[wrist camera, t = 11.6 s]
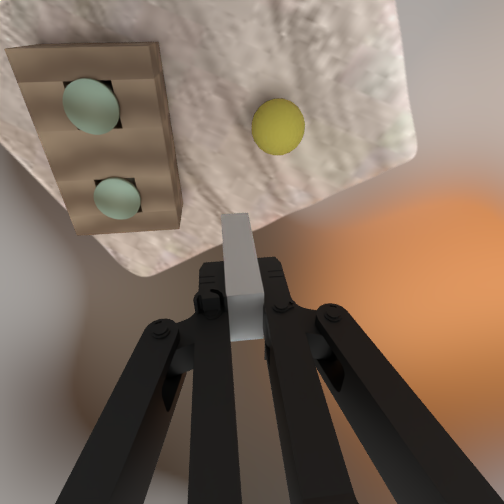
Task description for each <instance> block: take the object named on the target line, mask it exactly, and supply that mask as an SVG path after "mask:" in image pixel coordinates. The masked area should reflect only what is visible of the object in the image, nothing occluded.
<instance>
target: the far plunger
mask: <svg viewBox="0 0 504 504" xmlns="http://www.w3.org/2000/svg"><path fill="white" fill-rule="evenodd" d="M94 202H95V204H96V206H97V208H98V209H99V210H100V211H101V212H102V213H103V214H105V215H106V216H108V217H111V218H114V219H128V218H131V217H132V216H134V215H135V214H136V213H137V212H138V210H139V207H140V204H141V196H140V193H139V191H138V190H137V187H136V182H135V178H118V177H111V178H107V179H104V180H102V181H101V182H100V183H99V184H98V186H97V187H96V189H95V191H94Z"/></svg>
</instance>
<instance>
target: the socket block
mask: <svg viewBox="0 0 504 504" xmlns="http://www.w3.org/2000/svg"><path fill="white" fill-rule="evenodd" d="M5 52H6V54H7V57H8V60H9V62H10V65H11V67H12V70H13V72H14V75H15V77H16V80H17V83H18V85H19V88H20V90H21V93H22V95H23V98H24V100H25V103H26V106H27V108H28V111H29V113H30V116H31V118H32V121H33V124H34V126H35V129H36V131H37V134H38V136H39V139H40V141H41V144H42V147H43V149H44V152H45V154H46V157H47V159H48V162H49V164H50V167H51V170H52V172H53V175H54V177H55V180H56V182H57V185H58V187H59V190H60V193H61V195H62V198H63V200H64V203H65V205H66V208H67V211H68V213H69V215H70V218H71V221H72V223H73V226H74V228H75V231H76V234H77V235H78V236H80V235H96V234H111V233H126V232H141V231H157V230H172V229H179V228H180V221H181V214H182V207H183V200H182V193H181V187H180V180H179V174H178V167H177V160H176V154H175V147H174V141H173V134H172V128H171V121H170V114H169V108H168V101H167V95H166V88H165V82H164V75H163V69H162V62H161V55H160V49H159V42H124V43H73V44H36V45H29V46H21V47H14V48H7V49H5ZM81 78H91V79H95V80H111V82H112V86H113V90H114V94H115V96H116V98H117V100H118V103H119V107H120V117H119V120H118V123H117V124H116V126H115V127H114V128H113V129H112V130H111V131H109V132H108V133H105V134H101V135H94V134H89V133H86V132H84V131H82V130H80V129H79V128H77V127H76V126H75V125H74V124H73V123H72V122H71V121H70V120H69V118H68V117H67V115H66V113H65V110H64V107H63V93H64V91H65V88H66V87H67V86H68V85H69V84H70V83H71V82H73V81H75V80H78V79H81ZM111 177H118V178H135V182H136V187H137V190H138V191H139V193H140V196H141V204H140V207H139V210H138V212H137V213H136V214H135V215H134V216H132V217H131V218H128V219H114V218H111V217H108V216H106V215H105V214H103V213H102V212H101V211H100V210H99V209H98V208H97V206H96V204H95V202H94V191H95V189H96V187H97V186H98V184H99V183H100V182H101V181H102V180H104V179H107V178H111Z"/></svg>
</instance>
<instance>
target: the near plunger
mask: <svg viewBox="0 0 504 504" xmlns="http://www.w3.org/2000/svg"><path fill="white" fill-rule="evenodd" d="M63 107H64V110H65V113H66V115H67V117H68V118H69V120H70V121H71V122H72V123H73V124H74V125H75V126H76V127H77V128H79V129H80V130H82V131H84V132H86V133H89V134H94V135H101V134H105V133H108V132H109V131H111V130H112V129H113V128H114V127H115V126H116V124H117V123H118V120H119V117H120V107H119V103H118V100H117V98H116V96H115V94H114V90H113V86H112V82H111V80H95V79H91V78H81V79H78V80H75V81H73V82H71V83H70V84H69V85H68V86H67V87H66V88H65V91H64V93H63Z"/></svg>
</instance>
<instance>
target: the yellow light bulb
mask: <svg viewBox="0 0 504 504" xmlns="http://www.w3.org/2000/svg"><path fill="white" fill-rule="evenodd" d="M304 129H305V122H304V118H303V115H302V113H301V111H300V110H299V108H298V107H297V106H296V105H295V104H294V103H292V102H291V101H288V100H286V99H272V100H269V101H267V102H265V103H264V104H263V105H261V106H260V107H259V108H258V110H257V111H256V113H255V114H254V117H253V120H252V135H253V138H254V141H255V142H256V144H257V145H258V147H259V148H260V149H261V150H263V151H264V152H266V153H268V154H271V155H284V154H286V153H289V152H291V151H292V150H293V149H295V148H296V147H297V146H298V144H299V143H300V142H301V140H302V137H303V135H304Z"/></svg>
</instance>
